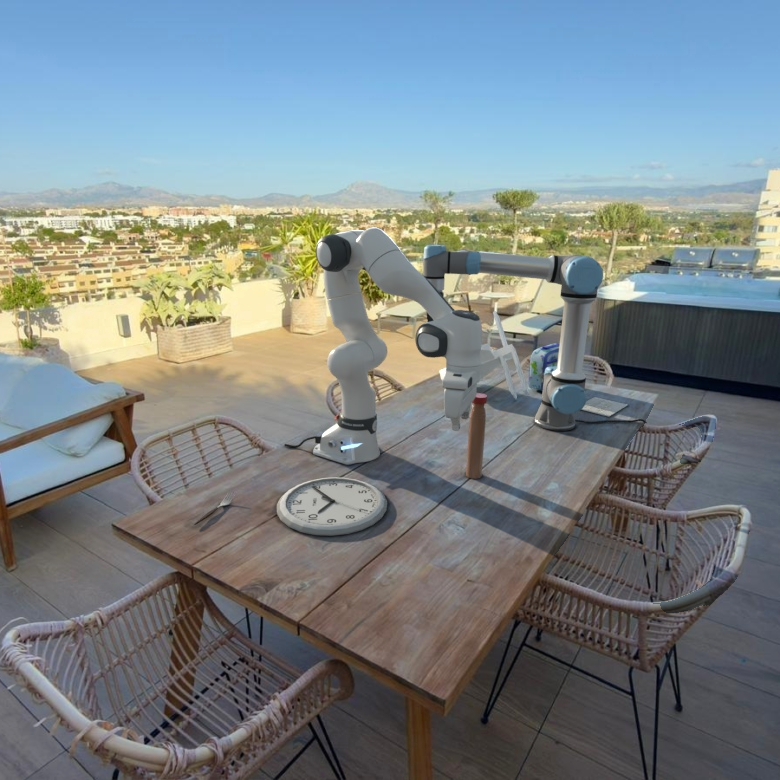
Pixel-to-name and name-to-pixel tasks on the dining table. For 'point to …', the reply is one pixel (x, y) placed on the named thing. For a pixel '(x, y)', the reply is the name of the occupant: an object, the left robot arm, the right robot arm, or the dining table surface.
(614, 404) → the invitation card
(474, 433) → the bottle
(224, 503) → the fork
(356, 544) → the dining table surface
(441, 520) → the dining table surface
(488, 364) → the white plastic object
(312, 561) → the dining table surface
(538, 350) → the lunch box
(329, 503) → the wall clock
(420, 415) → the dining table surface
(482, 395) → the cap
